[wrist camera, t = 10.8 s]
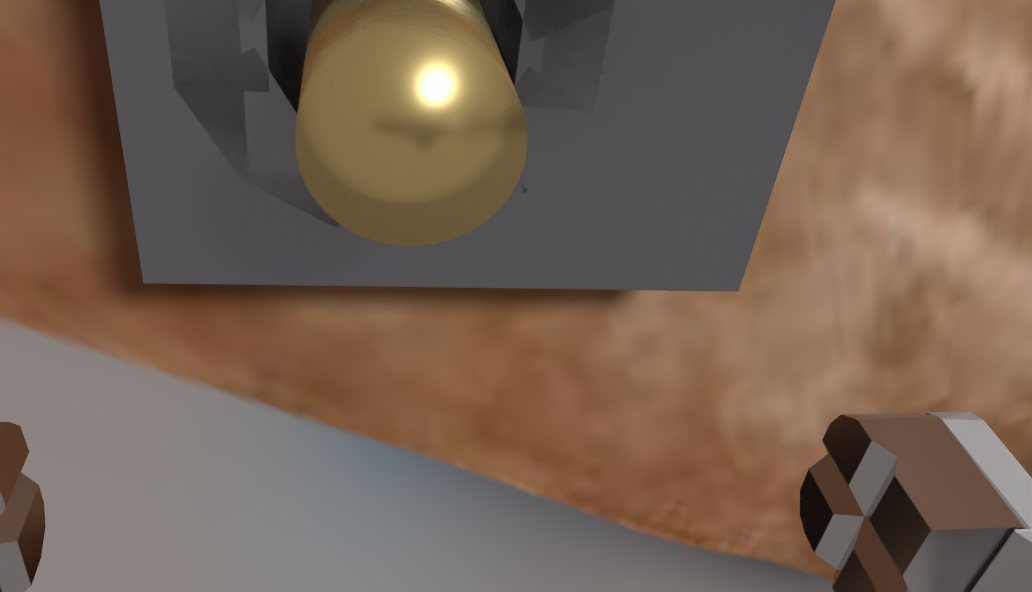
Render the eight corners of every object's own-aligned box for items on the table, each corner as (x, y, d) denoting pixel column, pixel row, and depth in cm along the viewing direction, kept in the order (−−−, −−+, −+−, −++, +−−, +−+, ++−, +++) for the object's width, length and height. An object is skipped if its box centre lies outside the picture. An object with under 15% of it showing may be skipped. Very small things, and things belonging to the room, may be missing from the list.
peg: (483, -68, 20) (542, 43, 14) (467, 91, 23) (512, 249, 16) (312, -85, 20) (292, 23, 13) (313, 81, 22) (297, 243, 15)
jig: (826, -254, 20) (916, -240, 17) (693, 220, 28) (738, 291, 24) (100, -364, 17) (41, -374, 14) (171, 203, 24) (143, 283, 21)
